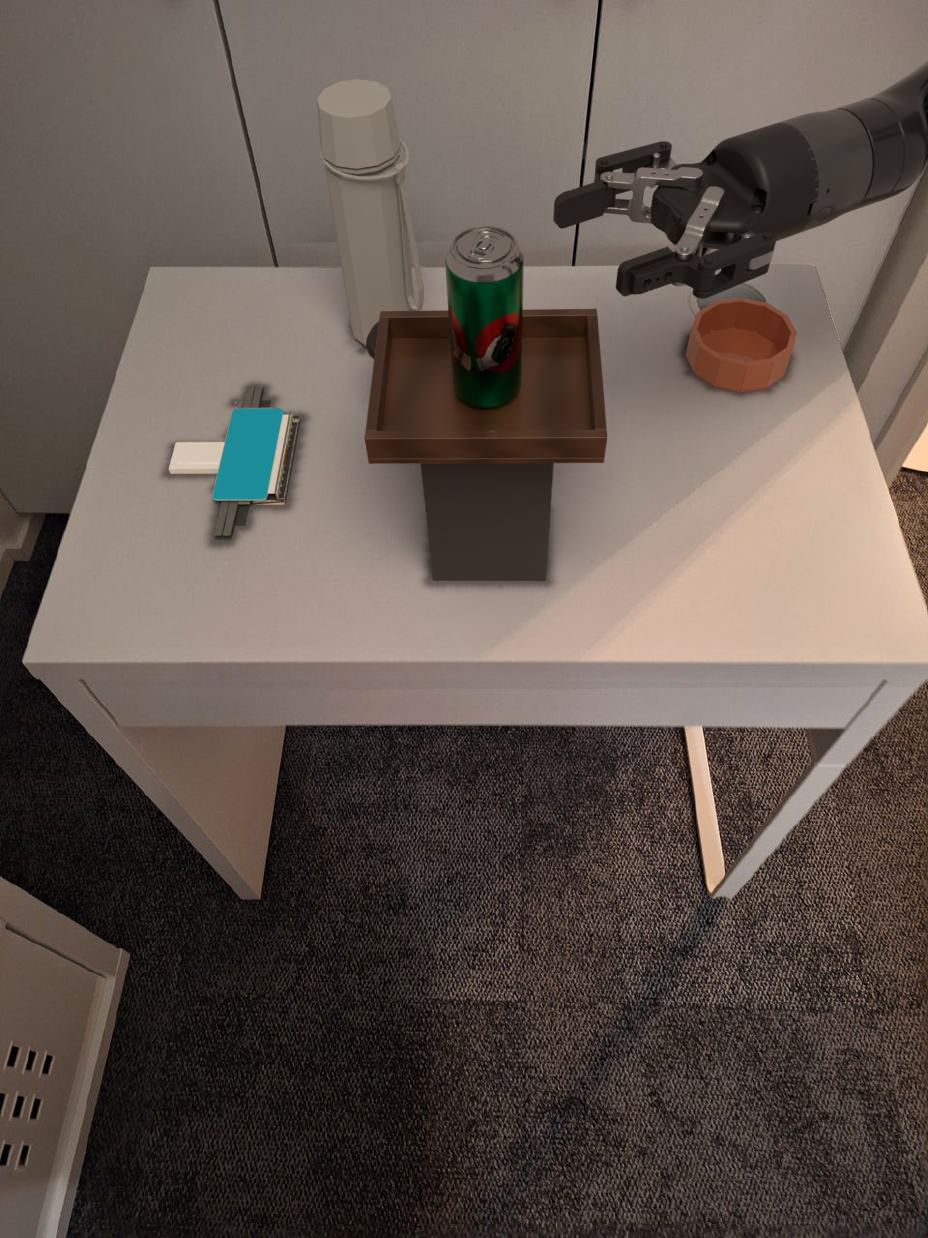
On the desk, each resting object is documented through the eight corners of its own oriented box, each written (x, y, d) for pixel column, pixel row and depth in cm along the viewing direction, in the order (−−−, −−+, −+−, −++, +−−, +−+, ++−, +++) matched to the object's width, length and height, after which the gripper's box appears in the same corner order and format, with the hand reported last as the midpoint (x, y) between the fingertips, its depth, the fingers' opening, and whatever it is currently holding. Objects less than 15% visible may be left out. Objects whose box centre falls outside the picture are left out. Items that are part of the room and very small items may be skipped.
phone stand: (193, 390, 96) (189, 378, 95) (306, 389, 95) (303, 377, 94) (152, 540, 85) (146, 528, 84) (279, 540, 84) (275, 528, 83)
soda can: (531, 376, 69) (536, 231, 59) (504, 420, 66) (504, 277, 56) (470, 359, 70) (464, 213, 60) (441, 401, 67) (430, 258, 57)
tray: (594, 334, 72) (597, 308, 70) (604, 463, 64) (607, 437, 62) (383, 336, 72) (379, 310, 70) (368, 463, 65) (364, 438, 63)
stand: (544, 511, 85) (552, 359, 70) (545, 581, 81) (555, 434, 66) (437, 512, 86) (423, 360, 71) (433, 581, 81) (417, 435, 66)
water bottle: (336, 341, 100) (292, 107, 79) (377, 301, 103) (346, 67, 82) (406, 370, 97) (380, 134, 76) (446, 327, 100) (432, 91, 79)
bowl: (794, 336, 97) (803, 309, 94) (777, 400, 92) (786, 373, 89) (699, 317, 100) (705, 290, 97) (677, 378, 94) (682, 351, 92)
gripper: (738, 80, 66) (538, 140, 62) (869, 178, 58) (650, 253, 55) (717, 180, 72) (534, 240, 68) (834, 280, 64) (635, 353, 61)
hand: (586, 246), depth 62 cm, fingers open, 8 cm apart
